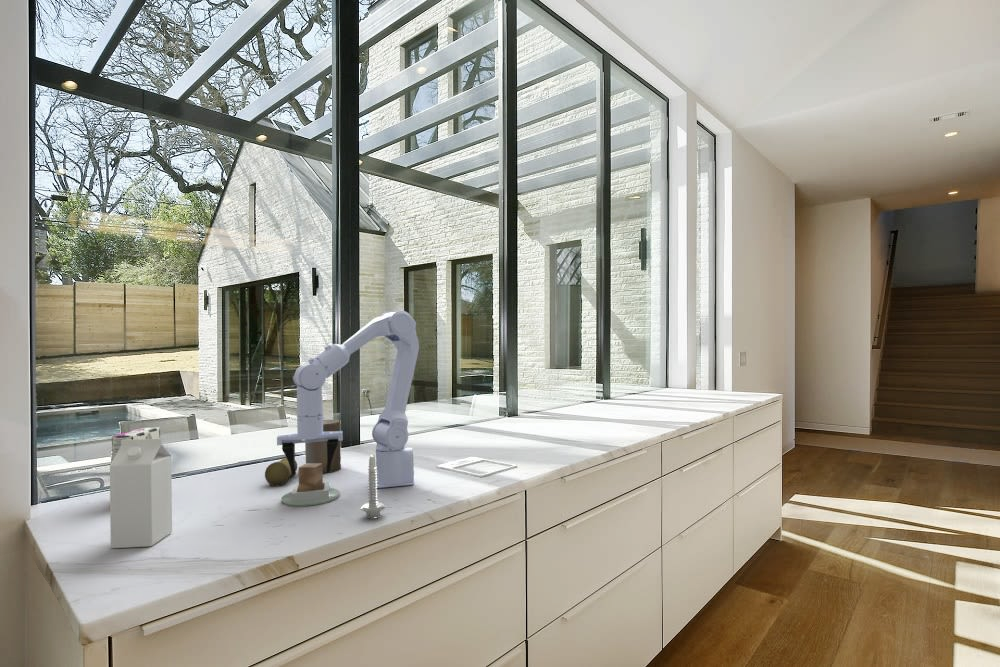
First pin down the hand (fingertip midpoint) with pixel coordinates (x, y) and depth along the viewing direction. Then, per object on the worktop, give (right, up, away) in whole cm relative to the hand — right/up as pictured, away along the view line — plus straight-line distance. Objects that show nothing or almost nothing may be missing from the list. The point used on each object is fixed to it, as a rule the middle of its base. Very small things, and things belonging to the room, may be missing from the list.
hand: (311, 473), depth 126 cm
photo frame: (+38, -6, +27) cm, 47 cm away
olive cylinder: (-13, -3, +11) cm, 17 cm away
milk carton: (-22, -6, -26) cm, 35 cm away
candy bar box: (-41, -7, 0) cm, 41 cm away
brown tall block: (0, -5, 0) cm, 5 cm away
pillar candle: (-6, -6, +27) cm, 29 cm away
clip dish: (0, -6, 0) cm, 6 cm away
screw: (+18, -6, -14) cm, 24 cm away
